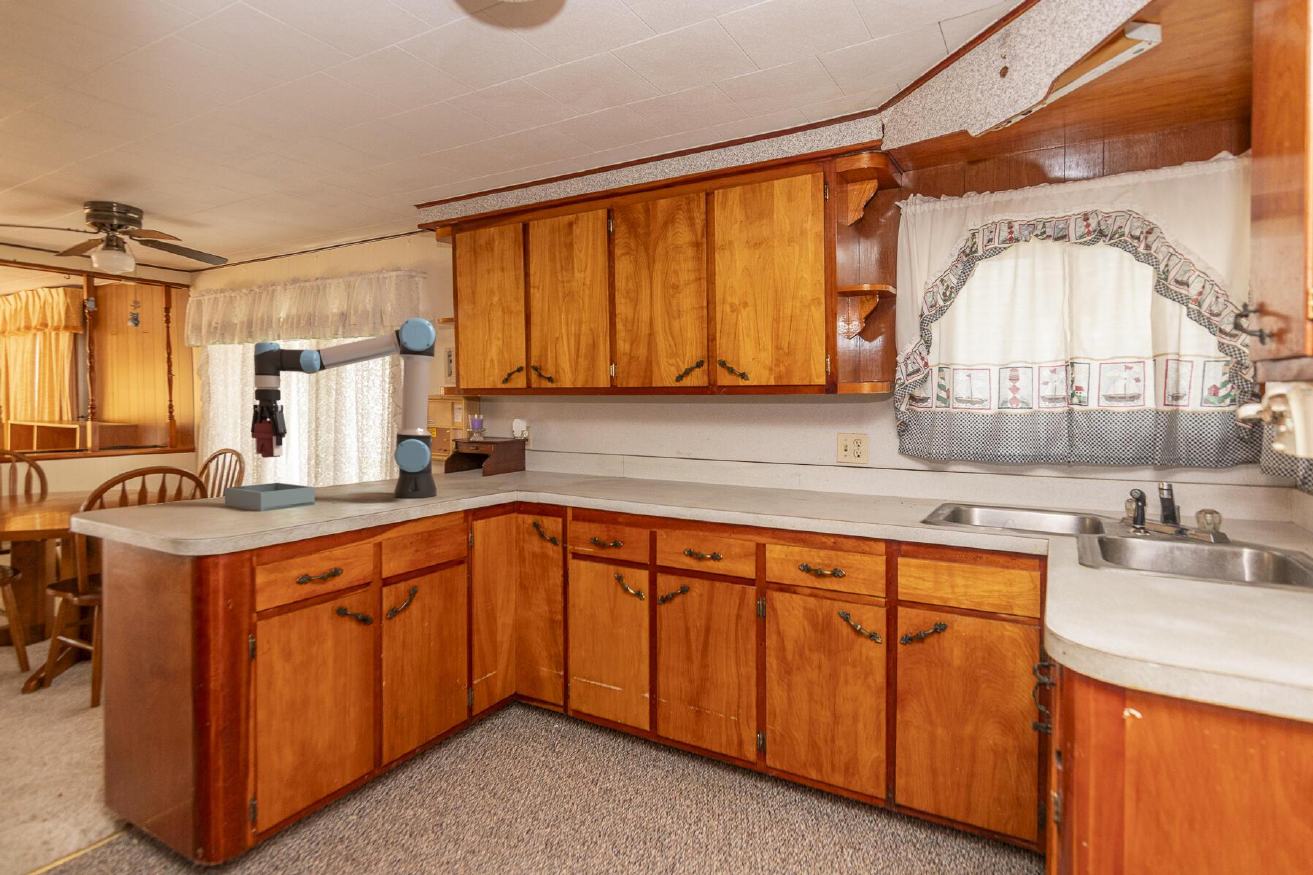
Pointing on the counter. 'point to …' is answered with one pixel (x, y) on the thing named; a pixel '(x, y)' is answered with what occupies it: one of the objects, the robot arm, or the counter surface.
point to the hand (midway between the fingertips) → (268, 454)
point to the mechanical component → (264, 438)
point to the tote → (269, 496)
